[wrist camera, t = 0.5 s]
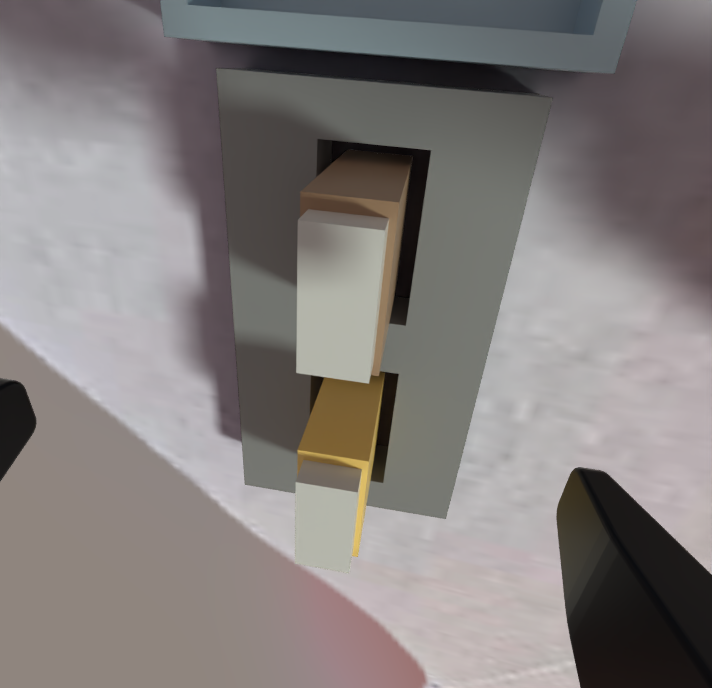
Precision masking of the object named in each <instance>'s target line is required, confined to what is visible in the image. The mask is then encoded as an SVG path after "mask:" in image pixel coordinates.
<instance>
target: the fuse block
mask: <svg viewBox="0 0 712 688" xmlns="http://www.w3.org/2000/svg"><path fill="white" fill-rule="evenodd" d="M216 74H217V89H218V103H219V118H220V132H221V147H222V161H223V176H224V190H225V205H226V219H227V234H228V248H229V263H230V277H231V292H232V306H233V321H234V335H235V350H236V364H237V378H238V393H239V407H240V422H241V436H242V451H243V465H244V480H245V485H250V486H256V487H262V488H268V489H274V490H279V491H285V492H291V493H295V492H296V479H297V456H298V447H299V445H300V442H301V439H302V437H303V434H304V431H305V428H306V426H307V423H308V420H309V418H310V415H311V412H312V410H313V407H314V404H315V401H316V399H317V396H318V393H319V391H320V388H321V385H322V377H321V376H314V375H307V374H300V373H296V356H297V244H298V219H299V218H300V191H302V190H303V189H304V188H305V187H306V186H307V185H308V184H309V183H311V182H312V181H313V180H314V179H315V178H316V177H317V176H318V175H320V174H321V173H322V172H323V171H324V170H325V169H326V168H327V167H329V166H330V165H331V154H332V140H334V141H344V142H354V143H364V144H374V145H384V146H394V147H404V148H414V149H424V150H431V152H430V159H429V166H428V173H427V179H426V186H425V193H424V200H423V207H422V214H421V221H420V228H419V235H418V242H417V249H416V256H415V263H414V270H413V277H412V284H411V291H410V298H404V297H396V296H394V301H393V306H392V311H391V317H390V322H389V327H388V332H387V337H386V342H385V347H384V352H383V358H382V363H381V368H380V371H382V372H389V373H396V374H399V375H398V382H397V388H396V395H395V402H394V409H393V416H392V423H391V430H390V437H389V444H388V446H382V445H376V449H375V455H374V461H373V467H372V473H371V480H370V486H369V492H368V498H367V504H366V505H367V506H373V507H378V508H384V509H390V510H396V511H402V512H408V513H413V514H419V515H425V516H431V517H437V518H443V519H446V516H447V512H448V508H449V505H450V501H451V497H452V493H453V489H454V485H455V481H456V477H457V473H458V469H459V465H460V461H461V457H462V453H463V449H464V446H465V442H466V438H467V434H468V430H469V426H470V422H471V418H472V414H473V410H474V406H475V402H476V398H477V394H478V391H479V387H480V383H481V379H482V375H483V371H484V367H485V363H486V359H487V355H488V351H489V347H490V343H491V339H492V335H493V332H494V328H495V324H496V320H497V316H498V312H499V308H500V304H501V300H502V296H503V292H504V288H505V284H506V280H507V276H508V273H509V269H510V265H511V261H512V257H513V253H514V249H515V245H516V241H517V237H518V233H519V229H520V225H521V221H522V218H523V214H524V210H525V206H526V202H527V198H528V194H529V190H530V186H531V182H532V178H533V174H534V170H535V166H536V162H537V159H538V155H539V151H540V147H541V143H542V139H543V135H544V131H545V127H546V123H547V119H548V115H549V111H550V107H551V103H552V100H553V98H552V97H548V96H544V95H540V94H533V93H522V92H511V91H499V90H488V89H476V88H465V87H453V86H442V85H430V84H419V83H408V82H396V81H385V80H373V79H362V78H350V77H339V76H327V75H316V74H305V73H293V72H282V71H270V70H259V69H247V68H216Z"/></svg>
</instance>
